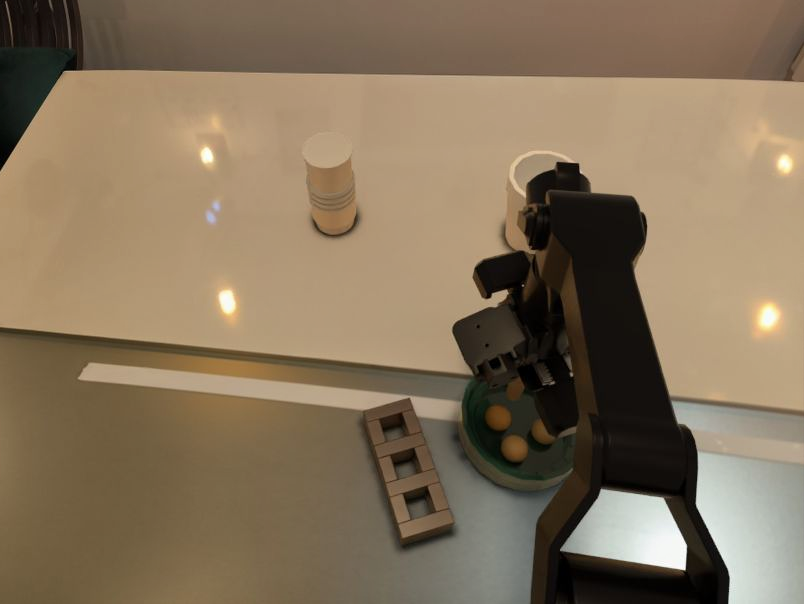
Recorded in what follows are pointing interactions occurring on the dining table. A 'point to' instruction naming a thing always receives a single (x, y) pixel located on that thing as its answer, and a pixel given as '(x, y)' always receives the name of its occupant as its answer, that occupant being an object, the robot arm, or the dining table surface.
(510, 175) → the foam cup
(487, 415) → the bead
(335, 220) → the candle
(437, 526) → the rack
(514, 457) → the bead
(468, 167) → the dining table surface
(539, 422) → the bead
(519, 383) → the stick
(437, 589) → the dining table surface
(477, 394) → the bowl
